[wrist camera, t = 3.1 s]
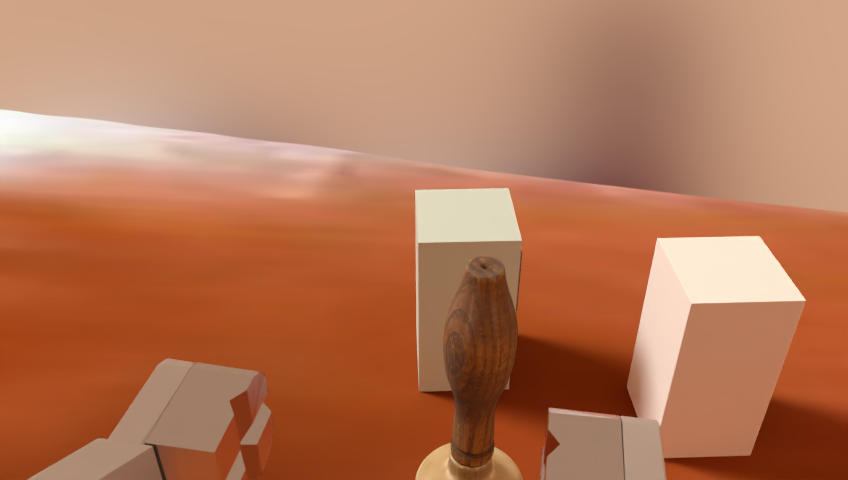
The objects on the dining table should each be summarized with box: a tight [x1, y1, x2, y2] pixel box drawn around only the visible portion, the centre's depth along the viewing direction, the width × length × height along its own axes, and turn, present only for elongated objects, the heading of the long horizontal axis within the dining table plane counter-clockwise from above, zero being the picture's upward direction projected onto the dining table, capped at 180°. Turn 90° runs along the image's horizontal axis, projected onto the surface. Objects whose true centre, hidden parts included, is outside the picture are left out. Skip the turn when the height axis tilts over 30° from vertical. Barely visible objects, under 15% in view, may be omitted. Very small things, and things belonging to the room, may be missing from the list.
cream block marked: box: [627, 236, 806, 458], centre depth 37 cm, size 5×5×10 cm
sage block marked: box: [415, 188, 522, 392], centre depth 41 cm, size 5×5×10 cm
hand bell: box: [415, 256, 523, 480], centre depth 29 cm, size 8×8×16 cm
